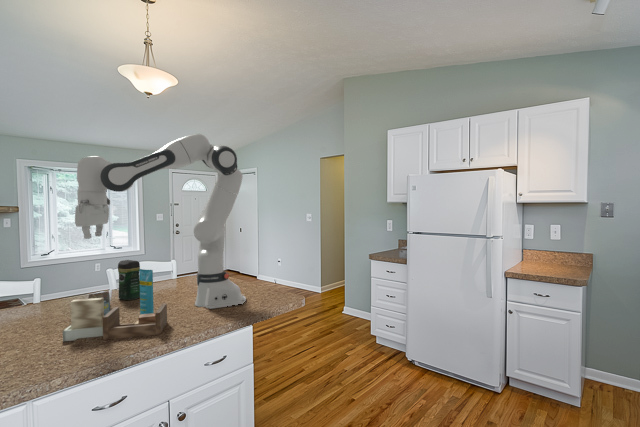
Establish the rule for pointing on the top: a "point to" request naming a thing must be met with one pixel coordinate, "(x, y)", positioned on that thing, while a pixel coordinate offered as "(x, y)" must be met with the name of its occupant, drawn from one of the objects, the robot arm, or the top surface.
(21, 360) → the top surface
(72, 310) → the sheet
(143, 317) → the offcut short
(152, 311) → the tube
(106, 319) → the rack
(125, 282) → the coffee jar
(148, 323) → the block
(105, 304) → the beverage carton
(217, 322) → the top surface
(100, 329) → the tray
